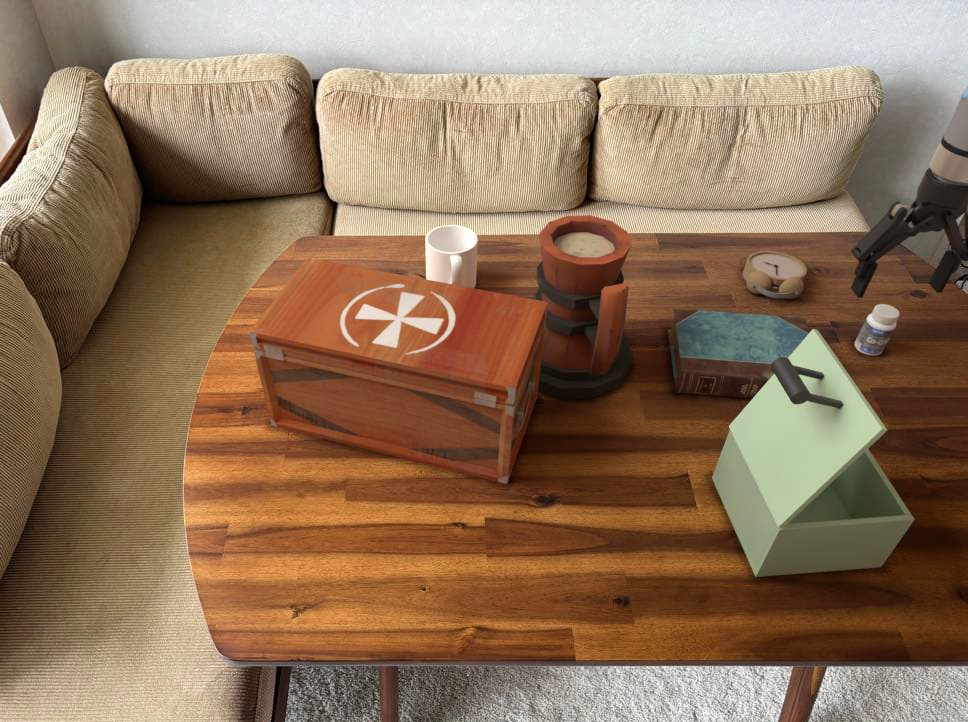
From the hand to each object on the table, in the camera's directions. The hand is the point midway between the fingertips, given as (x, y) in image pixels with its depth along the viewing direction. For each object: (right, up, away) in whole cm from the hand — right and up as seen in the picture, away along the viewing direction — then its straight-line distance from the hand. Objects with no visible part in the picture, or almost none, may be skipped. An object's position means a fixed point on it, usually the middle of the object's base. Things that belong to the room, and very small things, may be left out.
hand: (895, 290), depth 129 cm
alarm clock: (-11, +4, +23) cm, 26 cm away
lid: (-31, -22, -32) cm, 50 cm away
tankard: (-53, -12, +7) cm, 55 cm away
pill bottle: (0, -9, +9) cm, 13 cm away
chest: (-26, -36, -18) cm, 48 cm away
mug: (-74, +4, +24) cm, 78 cm away
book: (-24, -12, +6) cm, 28 cm away
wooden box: (-82, -20, 0) cm, 85 cm away
